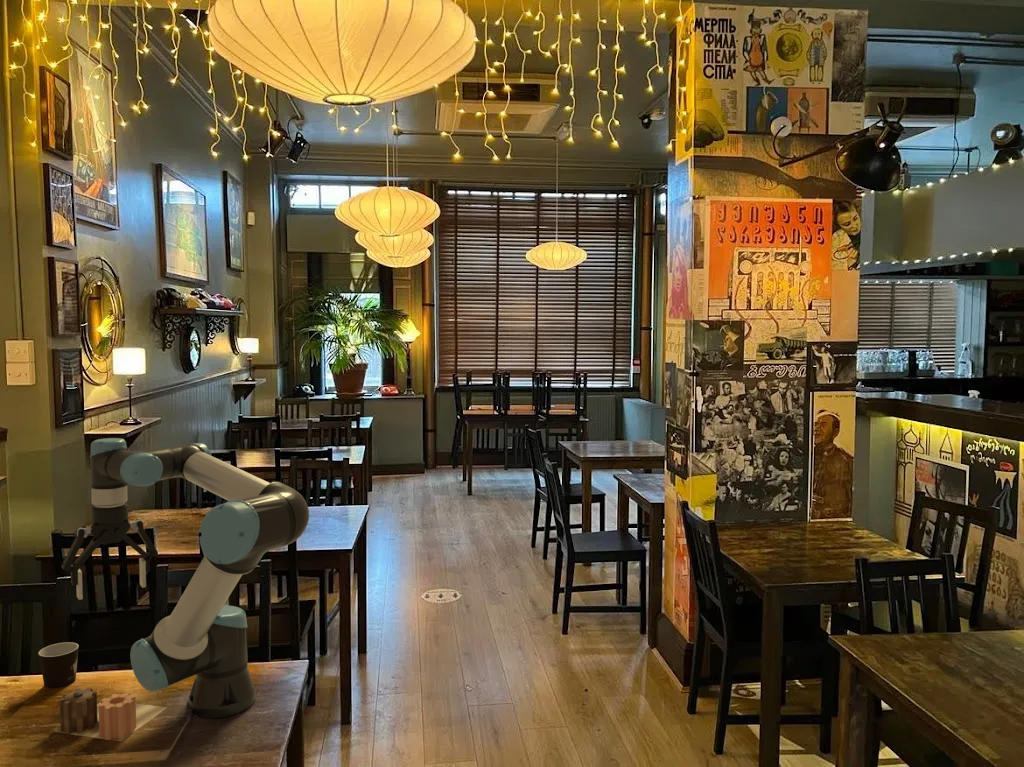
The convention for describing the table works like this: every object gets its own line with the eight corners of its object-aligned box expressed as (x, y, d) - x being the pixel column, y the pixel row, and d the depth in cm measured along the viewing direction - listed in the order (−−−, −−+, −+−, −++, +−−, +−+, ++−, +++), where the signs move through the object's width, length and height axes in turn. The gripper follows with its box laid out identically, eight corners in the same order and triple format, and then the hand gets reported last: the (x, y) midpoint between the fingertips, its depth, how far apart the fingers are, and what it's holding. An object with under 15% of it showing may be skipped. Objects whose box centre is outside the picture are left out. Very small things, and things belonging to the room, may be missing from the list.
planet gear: (132, 719, 171) (131, 689, 170) (139, 733, 165) (138, 702, 165) (97, 729, 167) (96, 698, 166) (102, 743, 161) (101, 711, 160)
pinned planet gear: (104, 719, 171) (103, 687, 170) (80, 736, 164) (79, 702, 163) (78, 716, 172) (77, 683, 172) (52, 732, 165) (51, 698, 165)
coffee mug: (61, 698, 184) (60, 658, 183) (31, 694, 186) (29, 655, 185) (96, 676, 195) (95, 639, 195) (68, 673, 197) (66, 636, 196)
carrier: (167, 713, 177) (166, 686, 176) (121, 747, 162) (120, 718, 162) (105, 705, 180) (104, 679, 180) (54, 738, 166) (53, 709, 165)
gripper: (161, 494, 189) (163, 577, 191) (45, 508, 173) (48, 598, 175) (170, 499, 184) (171, 585, 185) (51, 514, 168) (54, 608, 169)
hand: (112, 591), depth 180 cm, fingers open, 13 cm apart
